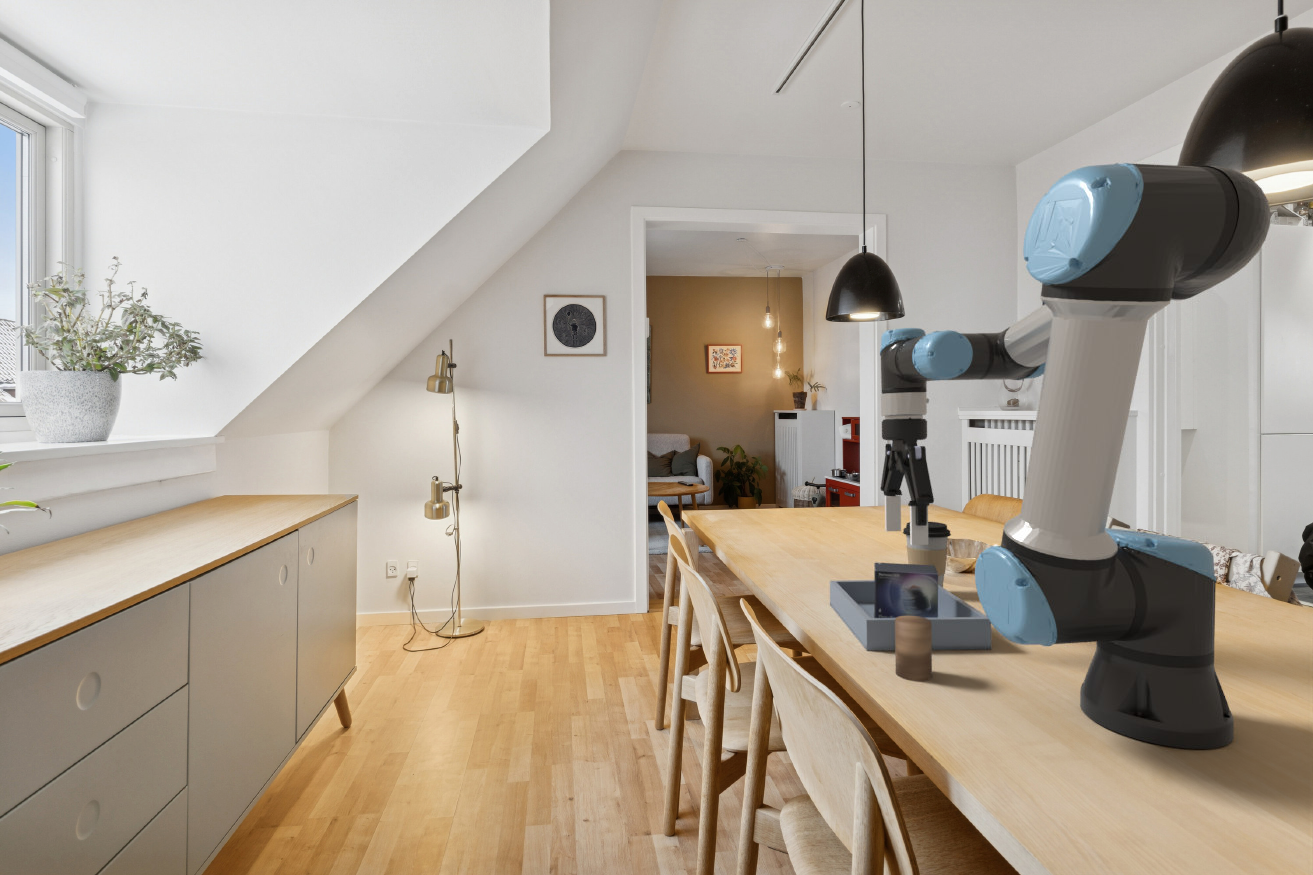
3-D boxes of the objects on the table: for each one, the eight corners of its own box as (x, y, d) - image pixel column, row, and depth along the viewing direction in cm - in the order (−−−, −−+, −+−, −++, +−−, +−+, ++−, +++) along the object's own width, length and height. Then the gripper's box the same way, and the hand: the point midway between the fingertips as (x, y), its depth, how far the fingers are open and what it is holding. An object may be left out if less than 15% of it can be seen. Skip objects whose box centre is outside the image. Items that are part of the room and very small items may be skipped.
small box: (874, 628, 117) (873, 569, 116) (873, 617, 123) (873, 561, 123) (939, 633, 114) (938, 572, 113) (935, 621, 120) (934, 564, 120)
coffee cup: (942, 588, 144) (942, 520, 144) (958, 600, 135) (957, 527, 134) (898, 588, 145) (897, 520, 145) (910, 600, 136) (909, 528, 135)
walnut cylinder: (937, 680, 95) (936, 626, 95) (901, 681, 95) (901, 626, 95) (924, 667, 100) (924, 615, 100) (891, 667, 100) (890, 615, 100)
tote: (991, 649, 107) (991, 618, 107) (866, 650, 108) (866, 620, 108) (930, 603, 133) (929, 579, 133) (830, 605, 134) (829, 580, 134)
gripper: (954, 416, 104) (956, 550, 105) (901, 417, 129) (903, 525, 129) (906, 417, 104) (908, 551, 105) (863, 418, 129) (864, 526, 130)
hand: (905, 537), depth 117 cm, fingers open, 13 cm apart
